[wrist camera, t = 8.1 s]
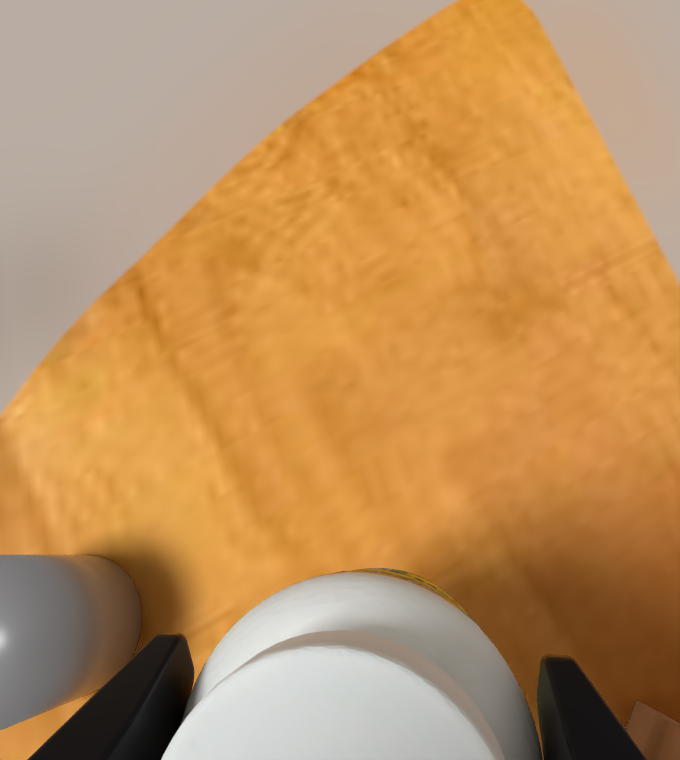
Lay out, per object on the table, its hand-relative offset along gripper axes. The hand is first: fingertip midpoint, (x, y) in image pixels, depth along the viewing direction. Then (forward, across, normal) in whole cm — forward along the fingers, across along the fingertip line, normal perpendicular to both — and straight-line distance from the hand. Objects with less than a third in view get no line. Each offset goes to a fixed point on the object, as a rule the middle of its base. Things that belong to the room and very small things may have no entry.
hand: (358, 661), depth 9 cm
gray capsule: (+8, +12, +10) cm, 18 cm away
